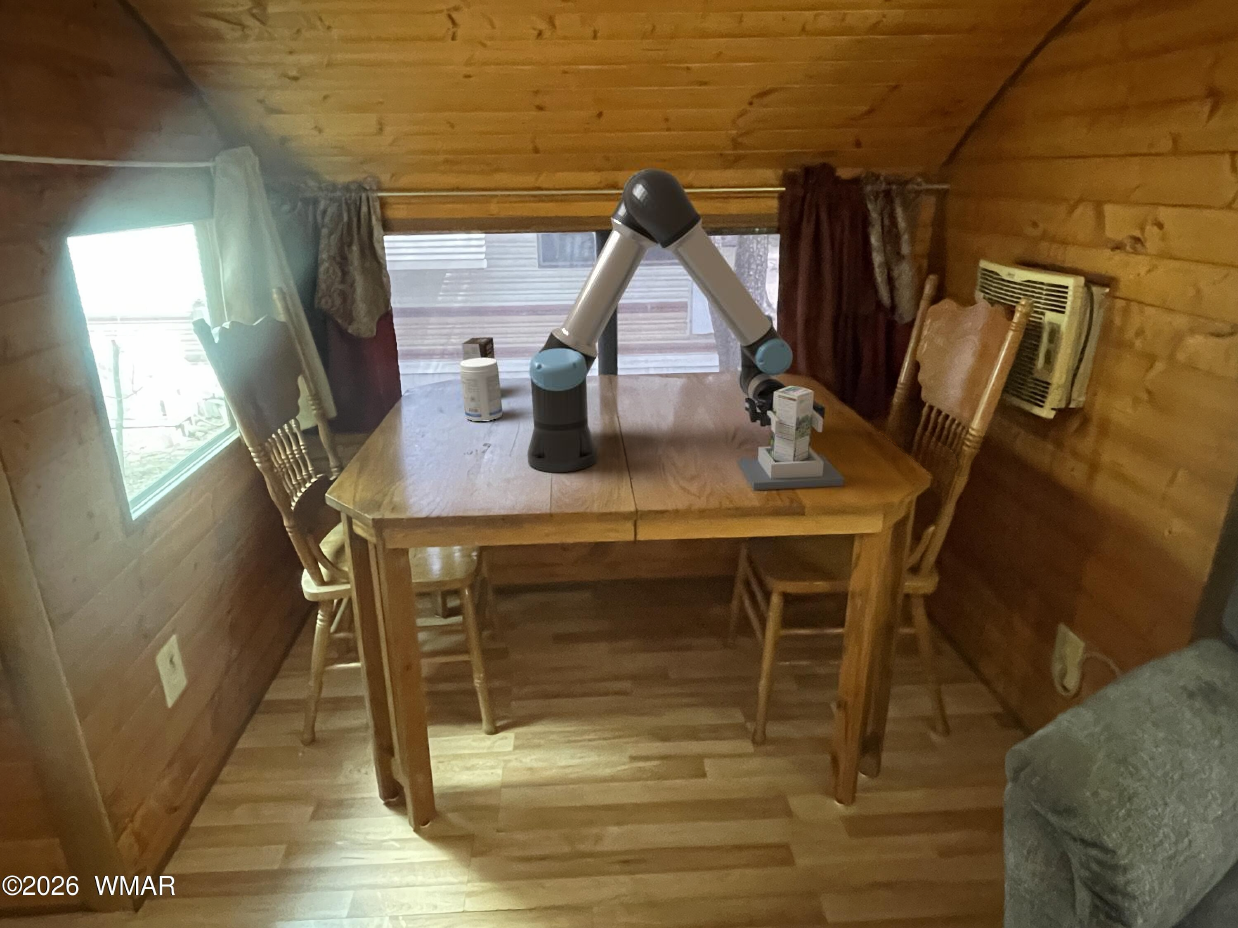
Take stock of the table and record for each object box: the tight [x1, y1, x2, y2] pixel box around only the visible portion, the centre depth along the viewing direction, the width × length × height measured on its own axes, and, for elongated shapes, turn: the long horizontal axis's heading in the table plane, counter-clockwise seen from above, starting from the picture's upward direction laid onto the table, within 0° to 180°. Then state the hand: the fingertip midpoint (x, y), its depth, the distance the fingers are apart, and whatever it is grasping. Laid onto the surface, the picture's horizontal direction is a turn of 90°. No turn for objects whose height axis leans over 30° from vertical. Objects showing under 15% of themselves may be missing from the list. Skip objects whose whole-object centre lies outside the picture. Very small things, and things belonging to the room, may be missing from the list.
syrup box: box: [770, 385, 815, 462], centre depth 158 cm, size 6×6×14 cm
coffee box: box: [461, 336, 496, 361], centre depth 220 cm, size 9×6×16 cm
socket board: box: [737, 445, 845, 491], centre depth 161 cm, size 18×14×4 cm
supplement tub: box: [459, 358, 503, 422], centre depth 201 cm, size 10×10×15 cm
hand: (798, 426), depth 153 cm, fingers closed on syrup box, 8 cm apart
